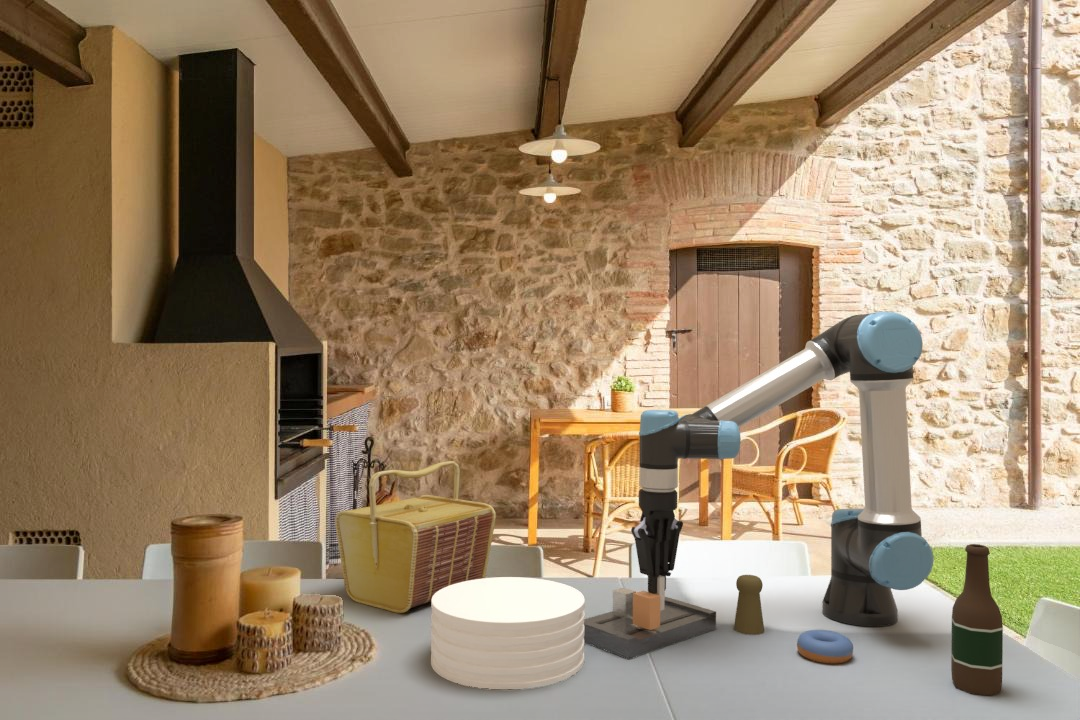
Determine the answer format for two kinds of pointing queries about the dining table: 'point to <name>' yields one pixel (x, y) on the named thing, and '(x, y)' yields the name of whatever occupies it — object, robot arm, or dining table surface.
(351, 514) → the picnic basket
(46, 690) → the dining table surface
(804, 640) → the doughnut
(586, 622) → the slider panel
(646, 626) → the fader
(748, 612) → the cork
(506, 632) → the plate stack
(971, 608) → the beer bottle
